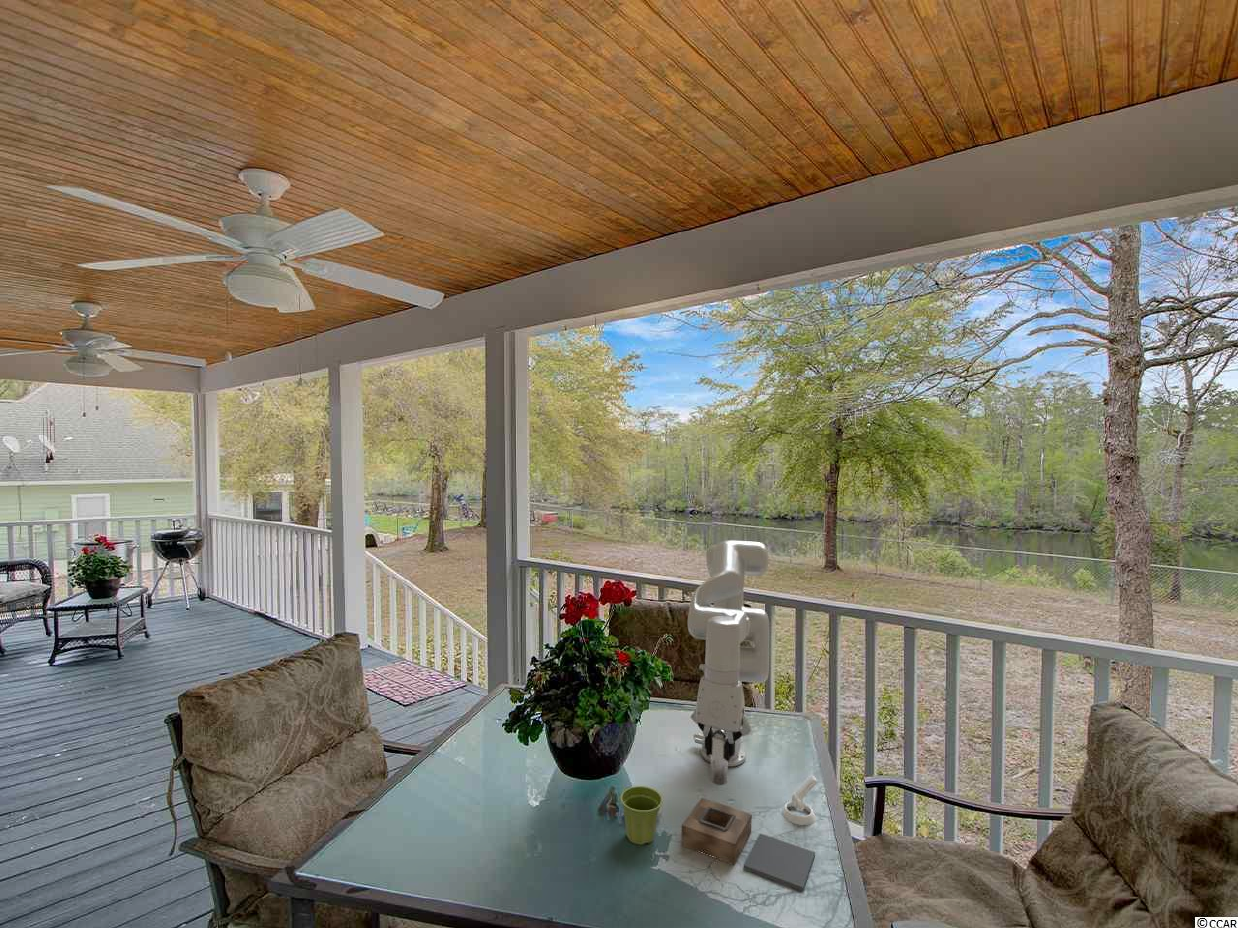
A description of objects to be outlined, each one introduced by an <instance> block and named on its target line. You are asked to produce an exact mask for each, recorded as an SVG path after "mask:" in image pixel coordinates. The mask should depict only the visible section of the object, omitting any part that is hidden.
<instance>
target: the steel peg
mask: <svg viewBox="0 0 1238 928" xmlns="http://www.w3.org/2000/svg"><path fill="white" fill-rule="evenodd" d="M727 741H728V735H727V734H726V733H725V731H724V730H722V729H717V730H716V731H715V732H714V733H712V735H711V763H710V768H709V770H710V772H709V773H710V774H709V781H710V782H711V783H712V784H714V785H717V786H724V785H726V784H727V783H728V769H729V767H728V761H726V760H725V751H726V742H727Z"/></svg>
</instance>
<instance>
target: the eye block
mask: <svg viewBox="0 0 1238 928" xmlns="http://www.w3.org/2000/svg"><path fill="white" fill-rule="evenodd" d="M752 815H753V813H749V812H747V811H744V810H742V809H741V810H740V809H737V808H735V807H732V806H728V805H724V804H722V803H718V802H716V801H713V800H710V799H707V798H704V797H701V798H700V800H699V801H698V802H697V804H696V805H695V806H694V808H693V809H692V811H691V812H690V813H689V814H688V816H687V817H686V818H685V820H684V821H683V823H682V824H681V840H680V842H681V843H680V845H681V846H682V847H685V848H688V849H690V850H692V849H693V851H695V850H697V851H696V852H698V851H700V852H703V853H705V854H704V855H706V854H708V855H711V856H714V857H716V858H718V859H717V860H719V859H721V860H723V861H722V862H724V861H725V863H727V862H728V863H727V864H729V863H731V864H730V865H732V864H733V865H732V866H735V865H736V863H737V861H738V859H739V857H740V856H739V855H741V854H742V852H743V850H744V848H745V846H746V844H747V842H748V840H749V839H748V838H750V837H749V836H751V835H752V821H753V820H752ZM750 834H751V835H750ZM700 852H699V853H700ZM703 853H702V854H703ZM708 855H707V856H708ZM711 856H710V857H711ZM714 857H713V858H714ZM716 858H715V859H716ZM721 860H720V861H721Z"/></svg>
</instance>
